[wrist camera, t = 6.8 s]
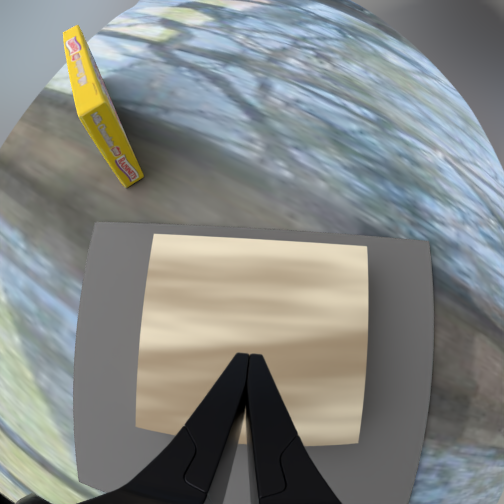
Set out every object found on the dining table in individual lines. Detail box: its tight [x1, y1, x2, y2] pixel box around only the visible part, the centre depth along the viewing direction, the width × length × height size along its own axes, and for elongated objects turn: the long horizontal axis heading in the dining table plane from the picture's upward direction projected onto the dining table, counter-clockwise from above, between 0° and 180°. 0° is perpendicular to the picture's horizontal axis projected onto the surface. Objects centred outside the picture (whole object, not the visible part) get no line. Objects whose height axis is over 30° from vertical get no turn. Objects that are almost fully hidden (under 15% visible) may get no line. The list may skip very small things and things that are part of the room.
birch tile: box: [136, 234, 368, 446], centre depth 16 cm, size 2×12×11 cm
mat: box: [73, 222, 434, 504], centre depth 16 cm, size 20×24×1 cm
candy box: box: [63, 25, 144, 188], centre depth 19 cm, size 16×2×8 cm, turn 31°
